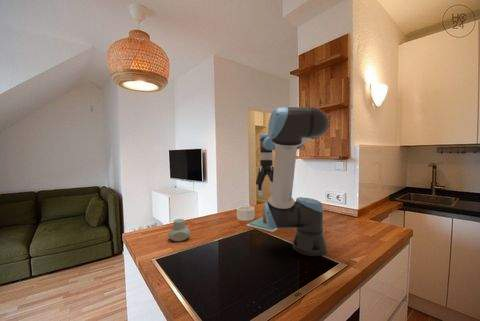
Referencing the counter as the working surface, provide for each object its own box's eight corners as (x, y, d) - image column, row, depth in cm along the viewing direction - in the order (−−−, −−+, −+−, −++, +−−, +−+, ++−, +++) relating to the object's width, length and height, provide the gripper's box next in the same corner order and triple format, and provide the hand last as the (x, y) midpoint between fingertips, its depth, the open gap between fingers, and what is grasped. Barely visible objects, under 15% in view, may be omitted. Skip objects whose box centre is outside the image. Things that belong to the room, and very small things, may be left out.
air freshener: (168, 243, 108) (167, 224, 108) (169, 237, 116) (168, 219, 116) (190, 240, 111) (190, 221, 110) (190, 234, 119) (189, 217, 118)
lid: (271, 230, 122) (271, 214, 122) (249, 224, 132) (248, 210, 132) (284, 222, 135) (284, 208, 134) (262, 218, 145) (262, 204, 144)
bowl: (247, 222, 138) (247, 211, 137) (233, 219, 145) (233, 208, 145) (257, 217, 147) (257, 207, 147) (244, 214, 155) (243, 205, 154)
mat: (272, 232, 120) (272, 231, 120) (245, 225, 132) (245, 224, 132) (287, 223, 135) (287, 222, 135) (262, 217, 147) (262, 217, 147)
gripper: (271, 158, 144) (271, 189, 145) (249, 160, 124) (250, 196, 125) (281, 158, 139) (281, 191, 140) (260, 160, 120) (260, 198, 121)
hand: (266, 193), depth 133 cm, fingers open, 13 cm apart
